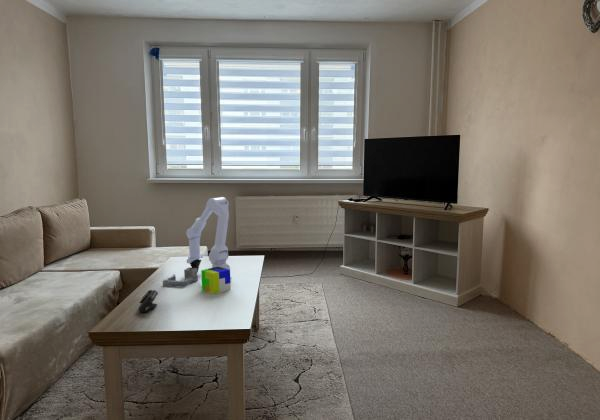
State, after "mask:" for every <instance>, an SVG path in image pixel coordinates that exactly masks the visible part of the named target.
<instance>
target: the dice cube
mask: <svg viewBox="0 0 600 420" xmlns="http://www.w3.org/2000/svg"><path fill="white" fill-rule="evenodd" d="M183 271H184V272H183V275H184V280H186V279H188V278H190V277H193V276H198V273H197V268H192V267H187V268H184V270H183Z"/></svg>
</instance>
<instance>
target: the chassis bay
mask: <svg viewBox="0 0 600 420" xmlns="http://www.w3.org/2000/svg"><path fill="white" fill-rule="evenodd" d="M198 281H199V276H198V275H197V276H193V277H190V278H188V279H184V280H183V279H182V280H176V274H172V276H170V277H167V278H165V279H163V280H162V286H164V287H175V288H176V287H177V288H185V287H187V286H188V285H191V284H192V283H194V282H198Z"/></svg>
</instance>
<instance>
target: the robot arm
mask: <svg viewBox="0 0 600 420" xmlns="http://www.w3.org/2000/svg"><path fill="white" fill-rule="evenodd" d="M229 205H230V203H229V200H228V199H227V198H226V197H224V196H220V197H211V198H209V199H208V200H207V202H206V206H205V208H204V210H203V212H202V214H201V215H200V216H199V217H197V218H196V219H195V221H194V223H193V224H192V225H191V227H190V228H187V230H186V234H185V235H186V237H187V238H188V246H189V247H188V249H189V250H188V251H189V256H188V257H187V259H186V263H187V264H189V265H190V268H197V274H198V273H199V270H200V269H199V268H200V265H201V262H202V259H203V258H204V257H203V256H204V254H203V253H201V246H200V244H201V243H200V241H201V236H202V232H203V230H204V228H205V226H206V225H207V221H208V219H209V217H210V216H211V215H212V214H213V213H214V214H215V215H216V216H217V223H216V230H215V238H214V245H213V246H212V247H211V249H210V252H209V254H208V260H209V262H210V264H212V266H211V268H213V267H222V268H225V269H229V270H230V271H231V267H230V265H229V263H227V260H228V259H229V248H228V246H227V245H226V241H227V233H228V225H229V219H230V211H229ZM201 258H202V259H201ZM231 279H232V277H231V276H230V280H231Z"/></svg>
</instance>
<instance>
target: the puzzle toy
mask: <svg viewBox="0 0 600 420" xmlns="http://www.w3.org/2000/svg"><path fill="white" fill-rule="evenodd" d="M200 272H201V274H200V275H201V290H202V291H204V292H207V293H210V294H213V295H215V294H220V293H222V292H226V291H229V290H230V291H231V285H232V284H231V279H230V277H231V269H230V270H229V269H225V268H222V267H213V268H212V267H210V268H205V269H202V270H201V271H200Z"/></svg>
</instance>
